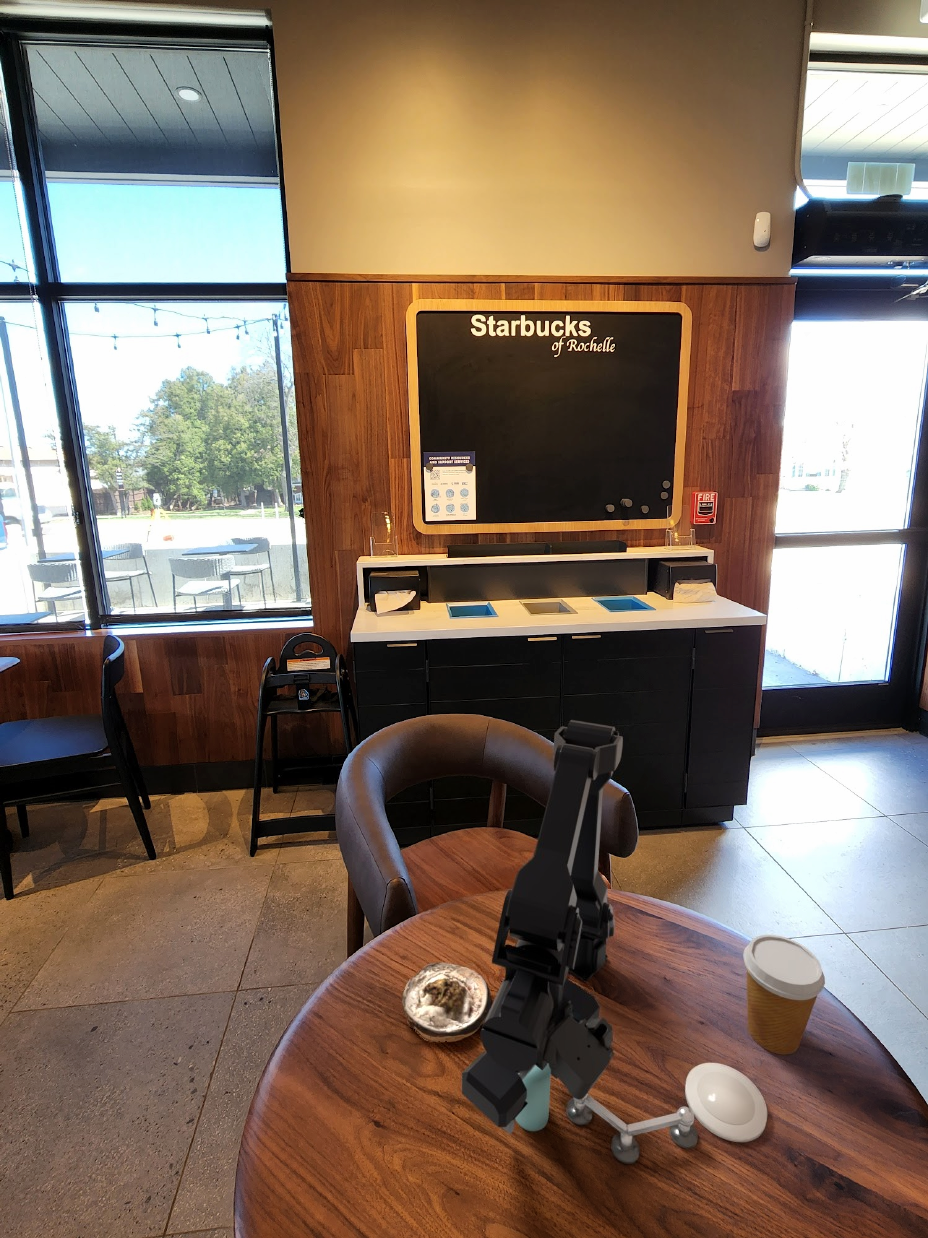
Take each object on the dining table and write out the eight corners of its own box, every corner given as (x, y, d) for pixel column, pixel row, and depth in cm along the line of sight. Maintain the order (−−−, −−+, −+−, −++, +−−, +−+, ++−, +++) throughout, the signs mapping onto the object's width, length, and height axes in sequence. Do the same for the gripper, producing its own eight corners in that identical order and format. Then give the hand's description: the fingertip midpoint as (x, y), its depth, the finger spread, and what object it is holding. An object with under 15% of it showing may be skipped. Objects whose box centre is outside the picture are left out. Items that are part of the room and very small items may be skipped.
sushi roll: (517, 994, 91) (518, 970, 90) (463, 1077, 78) (463, 1050, 77) (433, 953, 98) (433, 930, 97) (371, 1022, 86) (370, 997, 85)
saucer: (672, 1104, 75) (672, 1098, 74) (703, 1054, 81) (704, 1049, 81) (750, 1160, 69) (751, 1154, 68) (777, 1101, 75) (778, 1095, 75)
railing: (561, 1113, 74) (562, 1089, 73) (601, 1061, 80) (603, 1039, 79) (665, 1199, 65) (668, 1173, 64) (701, 1134, 71) (704, 1110, 70)
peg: (507, 1114, 73) (508, 1066, 72) (528, 1090, 76) (530, 1043, 74) (534, 1139, 71) (537, 1089, 69) (555, 1113, 73) (557, 1065, 72)
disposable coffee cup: (823, 1073, 79) (838, 994, 76) (742, 1059, 81) (754, 980, 78) (800, 1011, 88) (812, 938, 85) (728, 999, 90) (737, 927, 87)
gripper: (546, 1099, 57) (540, 1226, 61) (644, 982, 71) (634, 1092, 74) (458, 1026, 65) (457, 1143, 68) (562, 932, 78) (556, 1035, 82)
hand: (531, 1102), depth 73 cm, fingers open, 9 cm apart
